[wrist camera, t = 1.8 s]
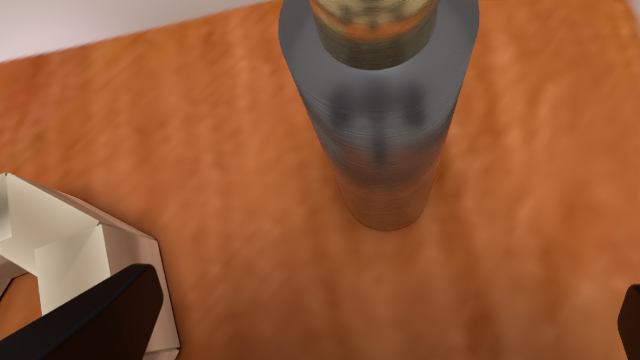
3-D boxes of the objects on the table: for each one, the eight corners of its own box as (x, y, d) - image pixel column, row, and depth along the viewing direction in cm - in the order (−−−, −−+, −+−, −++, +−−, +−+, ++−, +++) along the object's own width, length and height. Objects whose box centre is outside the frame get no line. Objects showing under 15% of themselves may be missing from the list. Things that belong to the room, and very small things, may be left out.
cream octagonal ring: (199, 437, 19) (145, 472, 15) (-69, 532, 20) (-193, 591, 16) (141, 172, 24) (86, 140, 19) (-79, 257, 24) (-180, 244, 20)
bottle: (442, 212, 21) (553, -15, 6) (360, 242, 21) (290, 87, 7) (409, 137, 22) (438, -191, 8) (332, 166, 22) (222, -102, 8)
